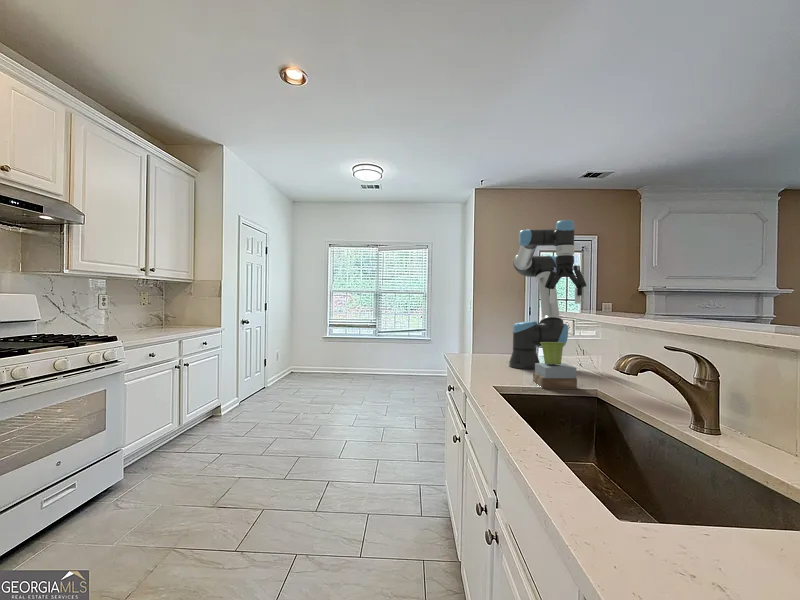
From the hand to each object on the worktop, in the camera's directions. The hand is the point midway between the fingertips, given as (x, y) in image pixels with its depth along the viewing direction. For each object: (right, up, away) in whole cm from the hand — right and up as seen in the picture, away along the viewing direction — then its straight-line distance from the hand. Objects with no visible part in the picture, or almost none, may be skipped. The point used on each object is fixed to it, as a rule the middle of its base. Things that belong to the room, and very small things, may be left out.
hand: (564, 303), depth 184 cm
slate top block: (-11, -29, -19) cm, 36 cm away
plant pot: (-12, -24, -18) cm, 32 cm away
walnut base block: (-11, -33, -18) cm, 39 cm away
